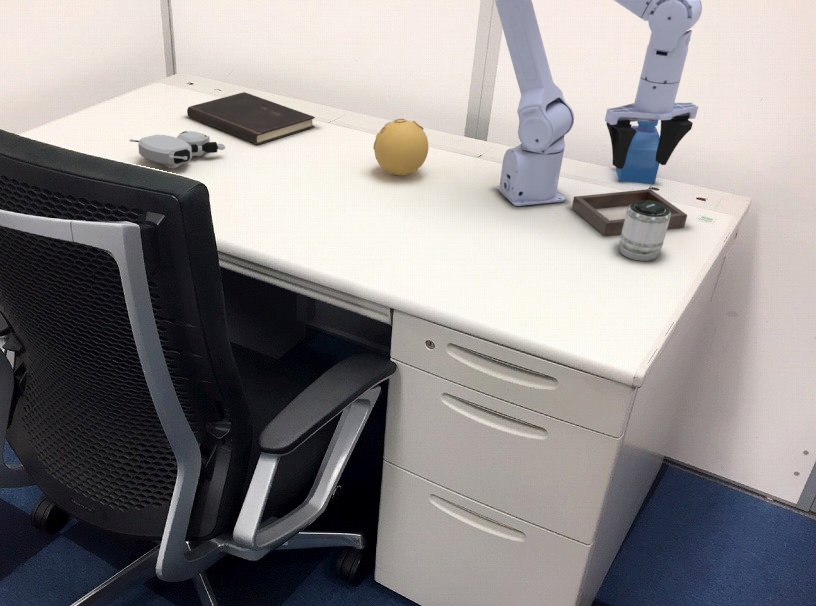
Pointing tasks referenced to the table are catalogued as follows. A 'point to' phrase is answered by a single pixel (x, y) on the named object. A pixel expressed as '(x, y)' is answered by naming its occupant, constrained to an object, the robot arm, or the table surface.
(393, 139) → the stress ball
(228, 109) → the hardcover book
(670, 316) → the table surface
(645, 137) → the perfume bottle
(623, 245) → the camera lens
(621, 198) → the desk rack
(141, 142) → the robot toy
